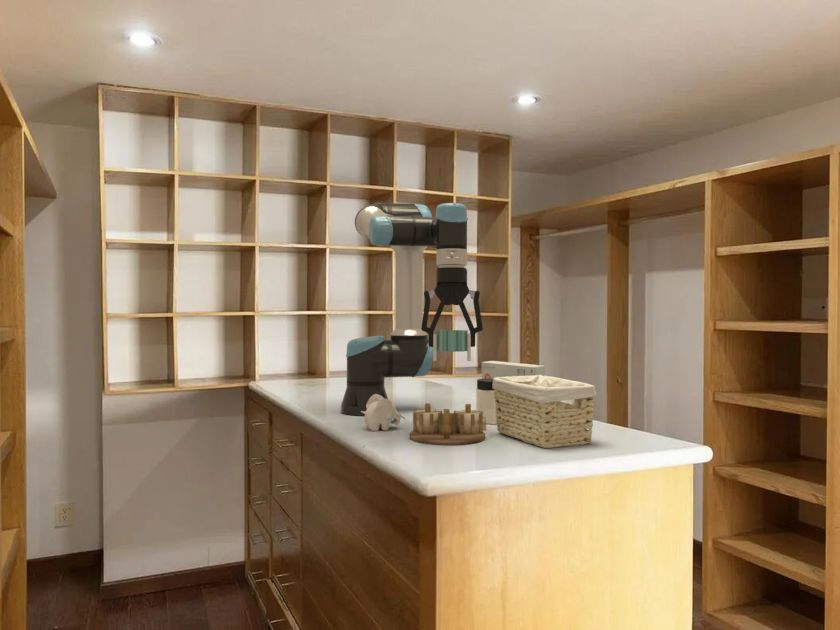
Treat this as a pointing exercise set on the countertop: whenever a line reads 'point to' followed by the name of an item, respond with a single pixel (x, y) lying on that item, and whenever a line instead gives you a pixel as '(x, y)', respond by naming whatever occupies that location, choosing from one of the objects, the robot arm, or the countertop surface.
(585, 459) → the countertop surface
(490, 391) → the jar
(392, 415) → the elephant figurine
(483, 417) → the stand
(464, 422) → the carrier
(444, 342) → the gear
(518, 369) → the skincare box
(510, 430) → the storage basket
